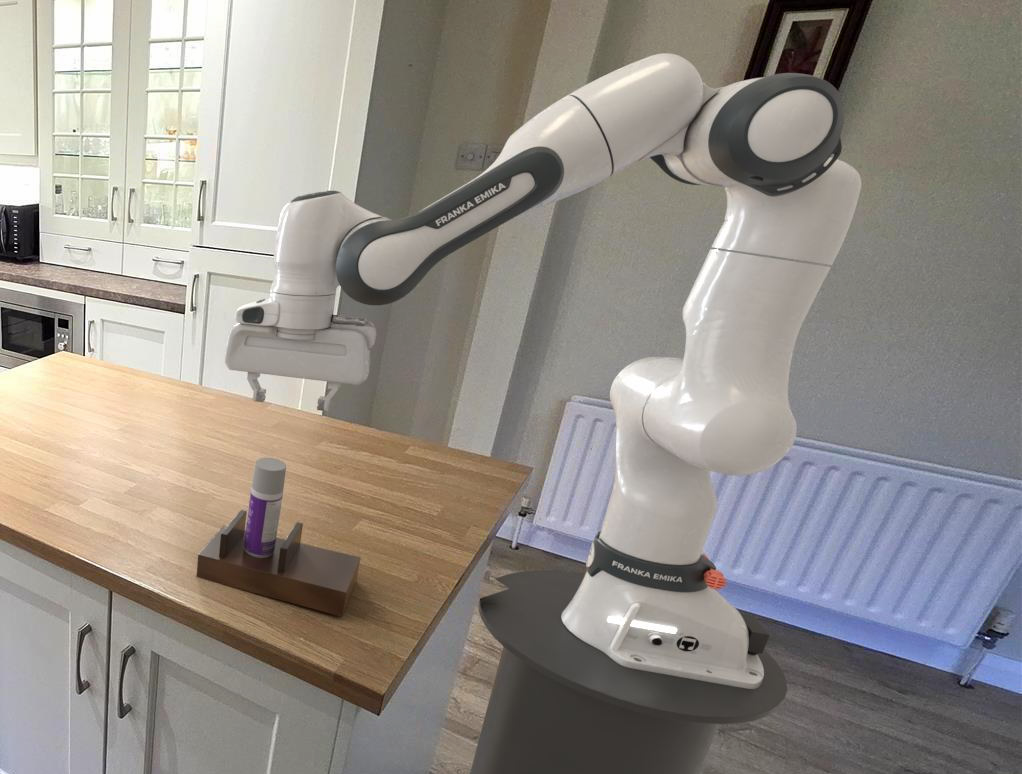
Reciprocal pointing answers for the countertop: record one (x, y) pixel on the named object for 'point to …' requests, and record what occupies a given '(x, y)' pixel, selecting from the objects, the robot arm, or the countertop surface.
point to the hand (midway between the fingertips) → (290, 405)
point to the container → (264, 507)
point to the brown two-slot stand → (281, 569)
